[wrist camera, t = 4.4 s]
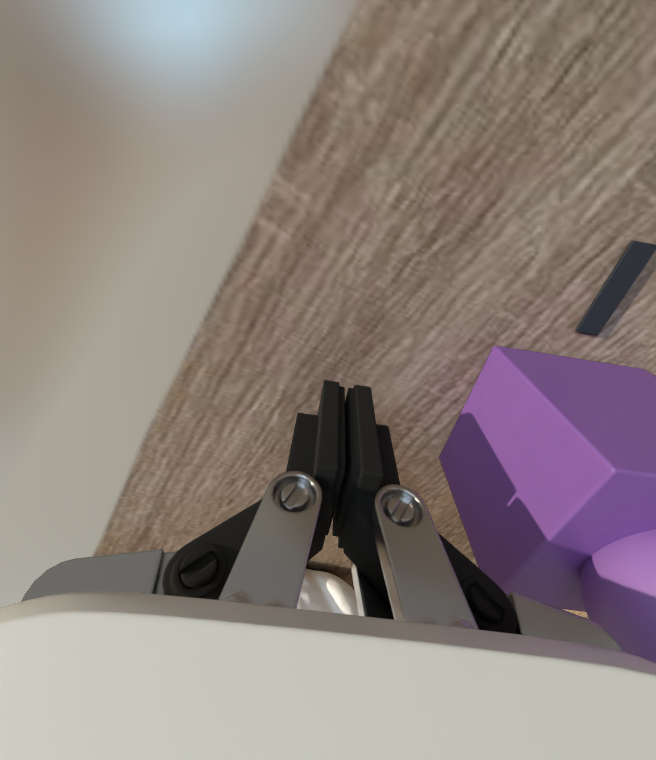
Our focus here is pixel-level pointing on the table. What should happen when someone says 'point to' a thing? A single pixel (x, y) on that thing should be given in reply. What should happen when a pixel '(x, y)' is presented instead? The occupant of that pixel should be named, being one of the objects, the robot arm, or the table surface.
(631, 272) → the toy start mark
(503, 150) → the table surface
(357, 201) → the table surface
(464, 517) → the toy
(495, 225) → the table surface
